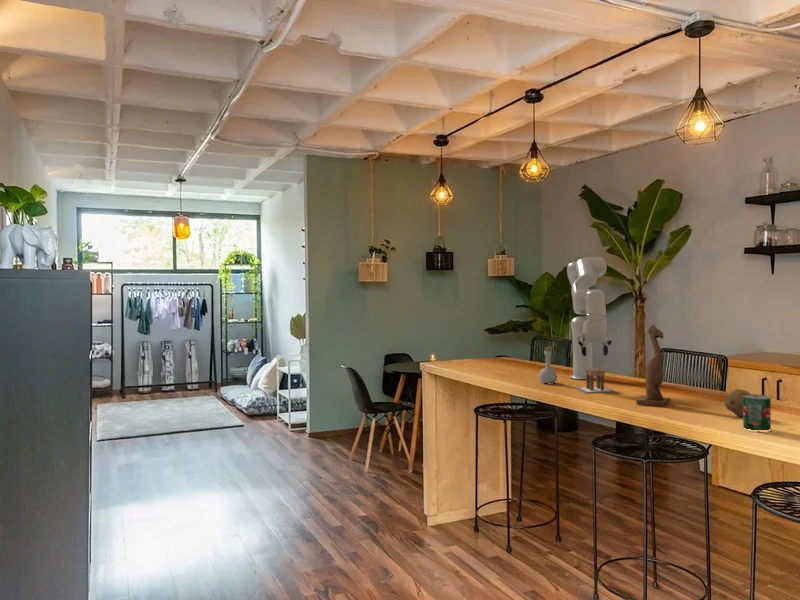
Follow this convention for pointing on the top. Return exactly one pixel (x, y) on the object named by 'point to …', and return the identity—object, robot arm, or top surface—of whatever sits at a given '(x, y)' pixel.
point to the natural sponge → (736, 401)
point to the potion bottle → (548, 370)
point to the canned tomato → (756, 412)
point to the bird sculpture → (654, 373)
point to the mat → (595, 390)
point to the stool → (590, 378)
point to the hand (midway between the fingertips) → (594, 355)
